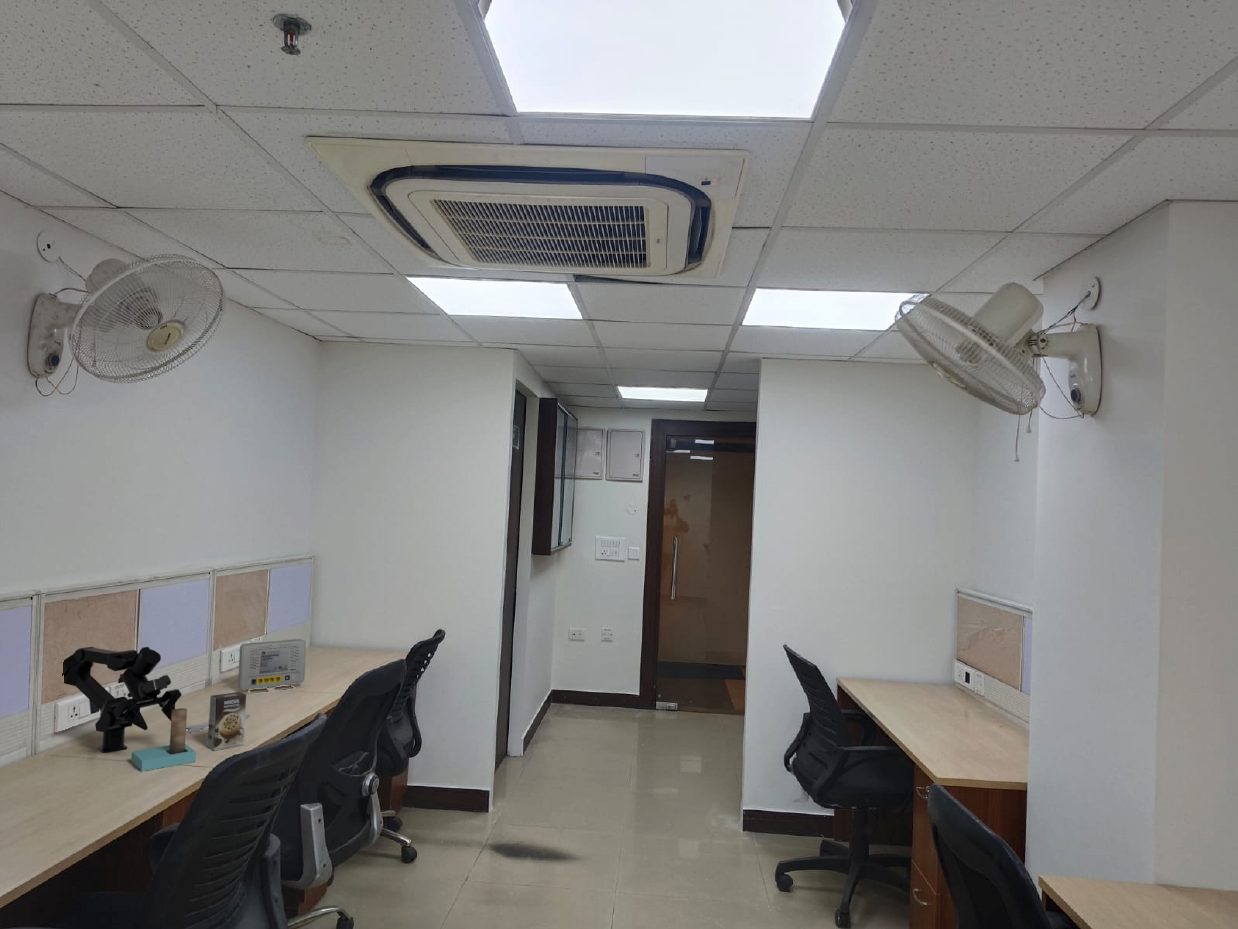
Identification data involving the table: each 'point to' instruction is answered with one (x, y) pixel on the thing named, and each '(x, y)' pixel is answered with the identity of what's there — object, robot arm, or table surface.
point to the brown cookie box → (226, 721)
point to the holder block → (161, 757)
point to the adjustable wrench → (201, 726)
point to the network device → (271, 663)
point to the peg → (178, 731)
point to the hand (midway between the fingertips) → (160, 725)
